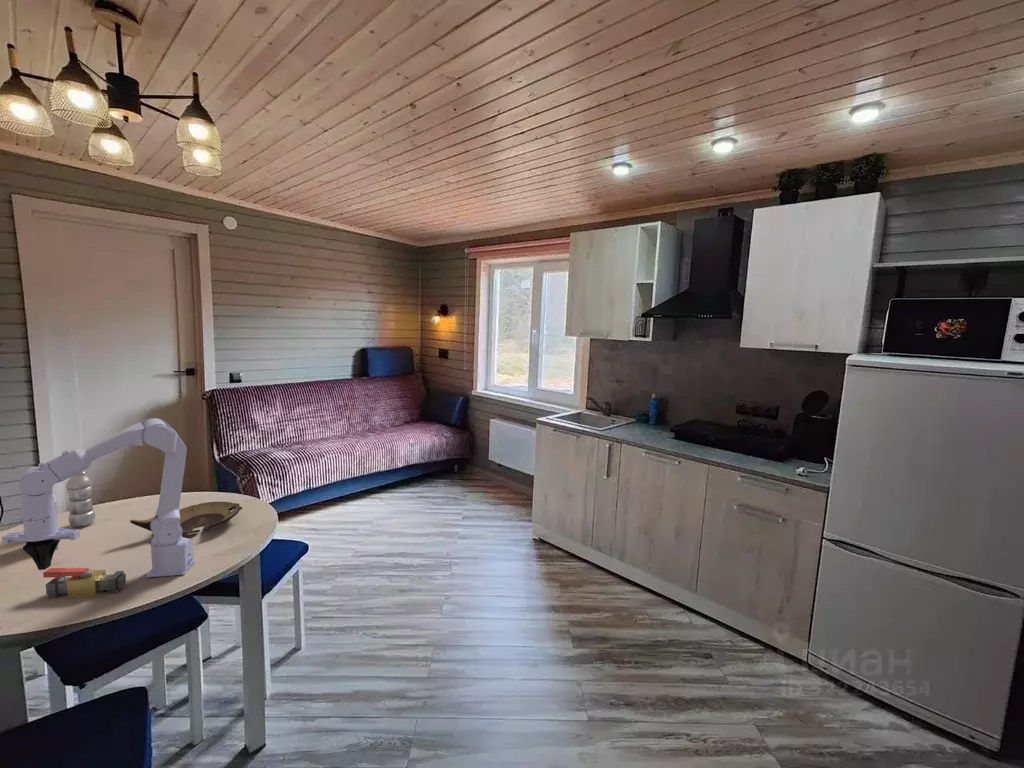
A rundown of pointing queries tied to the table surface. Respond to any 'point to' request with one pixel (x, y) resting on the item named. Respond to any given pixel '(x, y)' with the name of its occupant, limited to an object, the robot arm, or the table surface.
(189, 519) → the olive brown leaf dish
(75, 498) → the plastic bottle
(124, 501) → the table surface
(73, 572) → the lever
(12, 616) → the table surface
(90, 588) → the pipe valve
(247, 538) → the table surface
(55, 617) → the table surface
